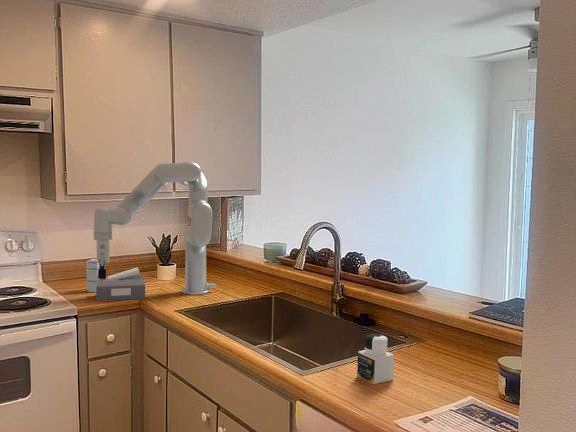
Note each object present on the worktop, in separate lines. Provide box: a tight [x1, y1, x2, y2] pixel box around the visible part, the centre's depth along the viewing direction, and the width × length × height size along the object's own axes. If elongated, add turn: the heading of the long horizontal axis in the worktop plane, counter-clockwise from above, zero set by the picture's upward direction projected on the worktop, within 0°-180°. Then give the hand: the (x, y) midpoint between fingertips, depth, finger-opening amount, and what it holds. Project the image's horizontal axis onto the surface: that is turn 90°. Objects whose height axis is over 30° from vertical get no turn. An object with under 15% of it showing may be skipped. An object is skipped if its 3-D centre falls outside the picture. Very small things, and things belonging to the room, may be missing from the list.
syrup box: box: [86, 258, 99, 293], centre depth 250 cm, size 6×6×14 cm
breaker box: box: [95, 274, 146, 302], centre depth 239 cm, size 20×12×8 cm, turn 107°
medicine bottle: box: [356, 333, 395, 385], centre depth 149 cm, size 7×7×12 cm
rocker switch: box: [101, 267, 140, 281], centre depth 238 cm, size 16×7×2 cm, turn 107°
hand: (102, 278), depth 236 cm, fingers closed
